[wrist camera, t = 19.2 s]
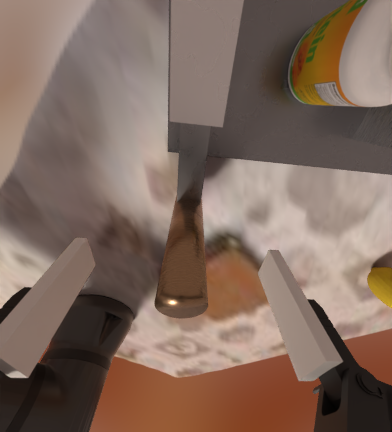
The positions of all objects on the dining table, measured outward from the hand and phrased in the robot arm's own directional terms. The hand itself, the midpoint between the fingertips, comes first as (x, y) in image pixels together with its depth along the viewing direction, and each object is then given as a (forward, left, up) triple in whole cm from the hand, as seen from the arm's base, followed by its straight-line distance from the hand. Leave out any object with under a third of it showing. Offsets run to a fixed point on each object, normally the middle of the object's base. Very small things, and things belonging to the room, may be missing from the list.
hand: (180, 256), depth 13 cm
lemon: (+34, -12, -11) cm, 38 cm away
